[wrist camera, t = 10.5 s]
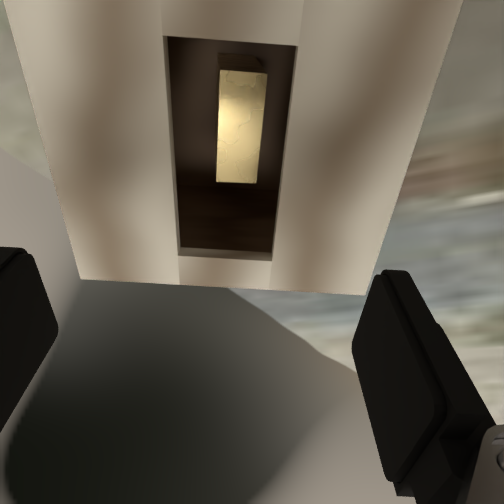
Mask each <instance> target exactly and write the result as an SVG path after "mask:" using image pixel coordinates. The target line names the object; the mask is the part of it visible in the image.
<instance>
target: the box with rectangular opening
mask: <svg viewBox="0 0 504 504" xmlns="http://www.w3.org/2000/svg"><path fill="white" fill-rule="evenodd" d="M3 1H4V5H5V9H6V12H7V16H8V19H9V23H10V27H11V30H12V34H13V37H14V41H15V44H16V48H17V52H18V55H19V59H20V62H21V66H22V70H23V73H24V77H25V80H26V84H27V88H28V91H29V95H30V98H31V102H32V106H33V109H34V113H35V116H36V120H37V124H38V127H39V131H40V134H41V138H42V142H43V145H44V149H45V152H46V156H47V160H48V163H49V167H50V170H51V174H52V178H53V181H54V185H55V188H56V192H57V196H58V199H59V203H60V206H61V210H62V214H63V217H64V221H65V224H66V228H67V232H68V235H69V239H70V242H71V246H72V250H73V253H74V257H75V260H76V264H77V268H78V271H79V275H80V278H81V279H91V280H92V279H93V280H108V281H126V282H143V283H160V284H179V285H195V286H213V287H230V288H247V289H265V290H282V291H300V292H317V293H335V294H352V295H365V294H366V291H367V288H368V285H369V282H370V279H371V276H372V273H373V270H374V267H375V264H376V261H377V258H378V255H379V252H380V249H381V246H382V243H383V240H384V237H385V234H386V231H387V228H388V225H389V222H390V219H391V216H392V213H393V210H394V207H395V204H396V201H397V198H398V195H399V192H400V189H401V186H402V183H403V180H404V177H405V174H406V171H407V168H408V165H409V162H410V159H411V156H412V153H413V150H414V147H415V144H416V141H417V138H418V135H419V132H420V129H421V126H422V123H423V120H424V117H425V114H426V111H427V108H428V105H429V102H430V99H431V96H432V93H433V90H434V87H435V84H436V81H437V78H438V75H439V72H440V69H441V66H442V63H443V60H444V57H445V54H446V51H447V48H448V45H449V42H450V39H451V36H452V33H453V30H454V27H455V24H456V21H457V18H458V15H459V12H460V9H461V6H462V3H463V0H3ZM217 52H218V53H230V54H241V55H252V56H255V57H256V59H257V60H258V61H259V63H260V64H261V65H262V67H263V68H264V70H265V71H266V72H267V74H268V75H267V85H266V94H265V104H264V113H263V123H262V133H261V142H260V152H259V161H258V171H257V181H256V183H237V182H216V163H215V118H216V83H217Z"/></svg>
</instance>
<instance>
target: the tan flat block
mask: <svg viewBox="0 0 504 504" xmlns="http://www.w3.org/2000/svg"><path fill="white" fill-rule="evenodd" d="M267 75H268V74H267V72H266V71H265V70H264V68H263V67H262V65H261V64H260V63H259V61H258V60H257V59H256V57H255V56H252V55H241V54H230V53H218V52H217V83H216V118H215V163H216V182H237V183H256V181H257V171H258V161H259V152H260V142H261V133H262V123H263V113H264V104H265V94H266V85H267Z"/></svg>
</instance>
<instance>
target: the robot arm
mask: <svg viewBox="0 0 504 504" xmlns="http://www.w3.org/2000/svg"><path fill="white" fill-rule="evenodd" d="M57 335H58V324H57V321H56V318H55V316H54V313H53V310H52V307H51V304H50V301H49V299H48V296H47V293H46V291H45V288H44V285H43V282H42V280H41V277H40V274H39V271H38V268H37V265H36V263H35V260H34V258H33V256H32V255H31V254H28V253H27V251H26V250H25V249H23V248H15V247H0V432H1V431H2V429H3V427H4V425H5V424H6V422H7V420H8V419H9V417H10V415H11V414H12V412H13V410H14V409H15V407H16V405H17V403H18V402H19V400H20V398H21V397H22V395H23V393H24V391H25V390H26V388H27V387H28V385H29V383H30V382H31V380H32V378H33V377H34V374H35V373H36V372H37V370H38V368H39V366H40V365H41V363H42V361H43V360H44V358H45V356H46V354H47V353H48V351H49V349H50V348H51V346H52V345H53V343H54V341H55V339H56V337H57ZM352 355H353V359H354V362H355V366H356V370H357V374H358V377H359V381H360V384H361V388H362V392H363V396H364V399H365V403H366V407H367V411H368V415H369V419H370V422H371V426H372V429H373V434H374V437H375V441H376V444H377V449H378V452H379V456H380V459H381V464H382V467H383V471H384V474H385V477H386V479H387V480H388V481H390V482H393V484H394V487H395V491H396V494H397V496H406V497H407V496H408V497H415V500H416V503H417V504H504V425H496V423H495V422H494V420H493V418H492V416H491V414H490V413H489V411H488V409H487V407H486V405H485V404H484V402H483V400H482V398H481V397H480V395H479V393H478V391H477V389H476V388H475V386H474V384H473V382H472V380H471V379H470V377H469V375H468V373H467V372H466V370H465V368H464V366H463V364H462V363H461V361H460V359H459V357H458V356H457V354H456V352H455V350H454V348H453V347H452V345H451V343H450V341H449V339H448V338H447V336H446V334H445V332H444V331H443V329H442V328H441V326H440V325H439V324H438V323H436V321H435V320H434V318H433V316H432V314H431V312H430V310H429V309H428V307H427V305H426V303H425V301H424V300H423V298H422V296H421V294H420V292H419V290H418V289H417V287H416V285H415V283H414V281H413V280H412V278H411V276H410V274H409V273H408V272H407V271H402V270H383V271H382V273H381V275H378V274H377V275H375V277H374V279H373V282H372V285H371V288H370V291H369V294H368V297H367V300H366V303H365V305H364V308H363V311H362V314H361V317H360V320H359V323H358V326H357V329H356V332H355V335H354V338H353V341H352Z"/></svg>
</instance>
